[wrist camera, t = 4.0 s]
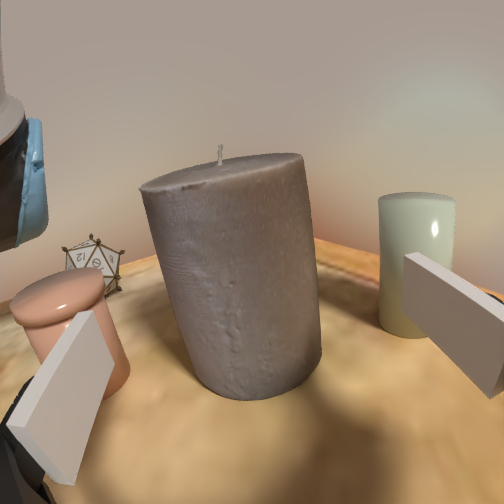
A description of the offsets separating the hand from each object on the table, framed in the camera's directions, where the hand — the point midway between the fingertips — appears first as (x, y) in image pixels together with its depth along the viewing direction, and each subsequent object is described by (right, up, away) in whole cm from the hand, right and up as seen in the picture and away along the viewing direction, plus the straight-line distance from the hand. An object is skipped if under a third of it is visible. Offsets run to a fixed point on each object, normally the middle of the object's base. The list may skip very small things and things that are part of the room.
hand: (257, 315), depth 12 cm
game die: (-19, -4, +25) cm, 32 cm away
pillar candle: (0, -5, +11) cm, 12 cm away
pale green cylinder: (+13, -3, +12) cm, 18 cm away
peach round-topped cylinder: (-13, -8, +10) cm, 18 cm away
